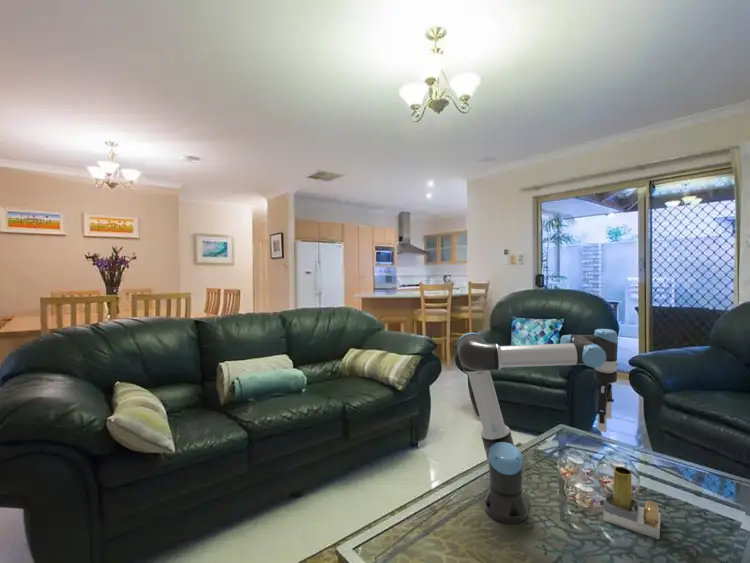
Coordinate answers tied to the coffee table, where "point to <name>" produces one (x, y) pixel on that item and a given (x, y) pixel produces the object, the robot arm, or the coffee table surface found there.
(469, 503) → the coffee table surface
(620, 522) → the white holder stand
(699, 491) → the coffee table surface
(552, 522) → the coffee table surface
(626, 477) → the vase
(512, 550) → the coffee table surface
